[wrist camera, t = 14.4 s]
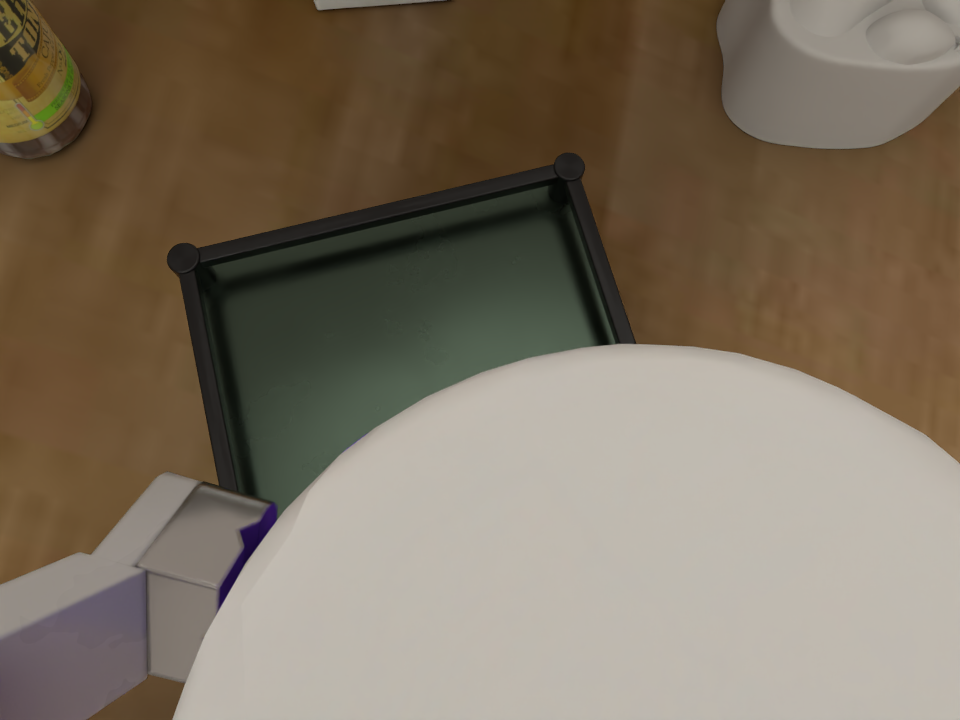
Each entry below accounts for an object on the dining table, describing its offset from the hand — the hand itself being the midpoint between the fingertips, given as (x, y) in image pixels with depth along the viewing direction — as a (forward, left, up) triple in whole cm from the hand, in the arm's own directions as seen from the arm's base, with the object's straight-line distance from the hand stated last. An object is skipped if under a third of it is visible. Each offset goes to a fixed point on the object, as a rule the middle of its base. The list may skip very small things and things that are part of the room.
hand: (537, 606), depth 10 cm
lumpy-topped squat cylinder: (+27, +22, -27) cm, 44 cm away
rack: (0, +8, -27) cm, 28 cm away
